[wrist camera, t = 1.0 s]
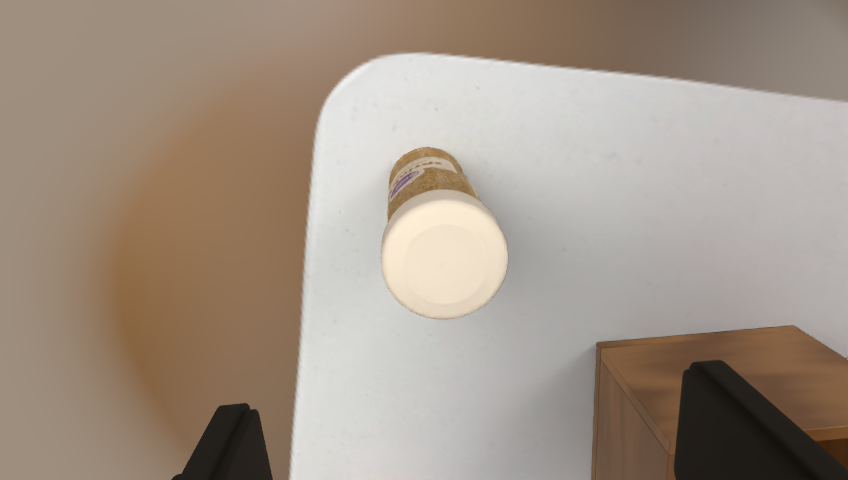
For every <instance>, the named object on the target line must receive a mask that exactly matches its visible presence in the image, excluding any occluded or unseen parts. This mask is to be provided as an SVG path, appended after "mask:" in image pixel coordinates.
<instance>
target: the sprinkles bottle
mask: <svg viewBox="0 0 848 480" xmlns="http://www.w3.org/2000/svg"><path fill="white" fill-rule="evenodd" d="M387 213H388V224H387V226H386V228H385V231H384V234H383V238H382V246H381V269H382V274H383V277H384V280H385V283H386V285H387V287H388V289H389V290H390V292H391V294H392V295H393V296H394V297H395V298H396V300H397V301H398V302H399V303H400V304H401V305H403V306H404V307H406V308H407V309H408V310H410V311H412V312H414V313H416V314H418V315H421V316H424V317H428V318H433V319H453V318H458V317H462V316H465V315H468V314H470V313H473V312H474V311H476V310H478V309H480V308H481V307H482V306H484V305H485V304H486V303H488V302H489V301H490V300H491V299H492V298H493V296H494V295H495V294H496V293H497V291H498V290H499V288H500V286H501V285H502V283H503V281H504V278H505V275H506V271H507V266H508V248H507V243H506V240H505V237H504V235H503V232H502V230H501V228H500V226H499V225H498V223H497V221H496V219H495V218H494V216H493V215H492V213H491V212H490V211H489V209H488V208H487V207H486V206H485V205H483V204H482V203H481V201H480V199H479V197H478V195H477V194H476V192H475V190H474V189H473V187H472V185H471V184H470V183H469V181H468V179H467V178H466V176H465V175H464V174H463V173H462V170H461V167H460V166H459V164H458V163H457V161H456V160H455V159H454V158H453V157H452V156H451V155H449V154H448V153H446V152H444V151H442V150H439V149H435V148H430V147H425V148H419V149H415V150H413V151H411V152H408V153H407V154H405V155H403V156H402V157H401V158H400V159H399V160H398V161H397V162H396V164H395V166H394V167H393V170H392V172H391V175H390V180H389V197H388V212H387Z"/></svg>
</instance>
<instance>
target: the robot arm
mask: <svg viewBox="0 0 848 480" xmlns="http://www.w3.org/2000/svg"><path fill="white" fill-rule="evenodd" d="M674 475H675V478H676V480H848V469H846V468H845V467H844V466H843V465H842V464H841V463H840V462H838V461H837V460H836V459H835V458H834V457H833V456H832V455H830V454H829V453H828V452H827V451H826V450H825V449H824V448H822V447H821V446H820V445H819V444H818V443H817V442H816V441H814V440H813V439H812V438H811V437H810V436H809V435H808V434H806V433H805V432H804V431H803V430H802V429H801V428H800V427H798V426H797V425H796V424H795V423H794V422H793V421H792V420H790V419H789V418H788V417H787V416H786V415H785V414H784V413H782V412H781V411H780V410H779V409H778V408H777V407H776V406H774V405H773V404H772V403H771V402H770V401H769V400H768V399H766V398H765V397H764V396H763V395H762V394H761V393H760V392H758V391H757V390H756V389H755V388H754V387H753V386H752V385H750V384H749V383H748V382H747V381H746V380H745V379H744V378H742V377H741V376H740V375H739V374H738V373H737V372H736V371H735V370H733V369H732V368H731V367H730V366H729V365H728V364H727V363H725V362H724V361H722V360H708V361H697V362H693V363H691V365H690V367H689V369H686V370H684V372H683V376H682V386H681V396H680V407H679V417H678V428H677V438H676V448H675V459H674ZM172 480H273V479H272V474H271V469H270V465H269V460H268V455H267V451H266V445H265V440H264V436H263V431H262V426H261V421H260V417H259V413H258V411H257V410H256V409H254V410H250V407H249V405H248V404H247V403H243V404H232V405H223V406H219V407H218V408H217V410H216V412H215V413H214V415H213V417H212V419H211V421H210V423H209V424H208V426H207V428H206V430H205V432H204V434H203V436H202V437H201V439H200V441H199V443H198V445H197V446H196V448H195V450H194V452H193V454H192V456H191V458H190V460H189V461H188V463H187V465H186V467H185V468H184V470H183V472H182V474H178V475H176V476H174V477H173V478H172Z"/></svg>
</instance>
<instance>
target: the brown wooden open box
mask: <svg viewBox="0 0 848 480" xmlns="http://www.w3.org/2000/svg"><path fill="white" fill-rule="evenodd" d="M708 360H722V361H724V362H725V363H727V364H728V365H729V366H730V367H731V368H732V369H733V370H735V371H736V372H737V373H738V374H739V375H740V376H741V377H742V378H744V379H745V380H746V381H747V382H748V383H749V384H750V385H752V386H753V387H754V388H755V389H756V390H757V391H758V392H760V393H761V394H762V395H763V396H764V397H765V398H766V399H768V400H769V401H770V402H771V403H772V404H773V405H774V406H776V407H777V408H778V409H779V410H780V411H781V412H782V413H784V414H785V415H786V416H787V417H788V418H789V419H790V420H792V421H793V422H794V423H795V424H796V425H797V426H798V427H800V428H801V429H802V430H803V431H804V432H805V433H806V434H808V435H809V436H810V437H811V438H812V439H813V440H814V441H816V442H817V443H818V444H819V445H820V446H821V447H822V448H824V449H825V450H826V451H827V452H828V453H829V454H830V455H832V456H833V457H834V458H835V459H836V460H837V461H838V462H840V463H841V464H842V465H843V466H844V467H845V468H846V469H848V360H847V359H846V358H844V357H843V356H841V355H839V354H838V353H836V352H835V351H833V350H832V349H830V348H828V347H827V346H825V345H824V344H822V343H821V342H819V341H817V340H816V339H814V338H813V337H811V336H809V335H808V334H806V333H805V332H803V331H802V330H800V329H799V328H797V327H795V326H781V327H770V328H758V329H747V330H736V331H724V332H713V333H701V334H690V335H679V336H667V337H656V338H644V339H633V340H622V341H610V342H599V343H597V349H596V374H595V399H594V424H593V450H592V475H591V480H676V478H675V475H674V459H675V448H676V438H677V428H678V417H679V407H680V396H681V386H682V376H683V372H684V370H686V369H689V367H690V365H691V363H693V362H697V361H708Z"/></svg>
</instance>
